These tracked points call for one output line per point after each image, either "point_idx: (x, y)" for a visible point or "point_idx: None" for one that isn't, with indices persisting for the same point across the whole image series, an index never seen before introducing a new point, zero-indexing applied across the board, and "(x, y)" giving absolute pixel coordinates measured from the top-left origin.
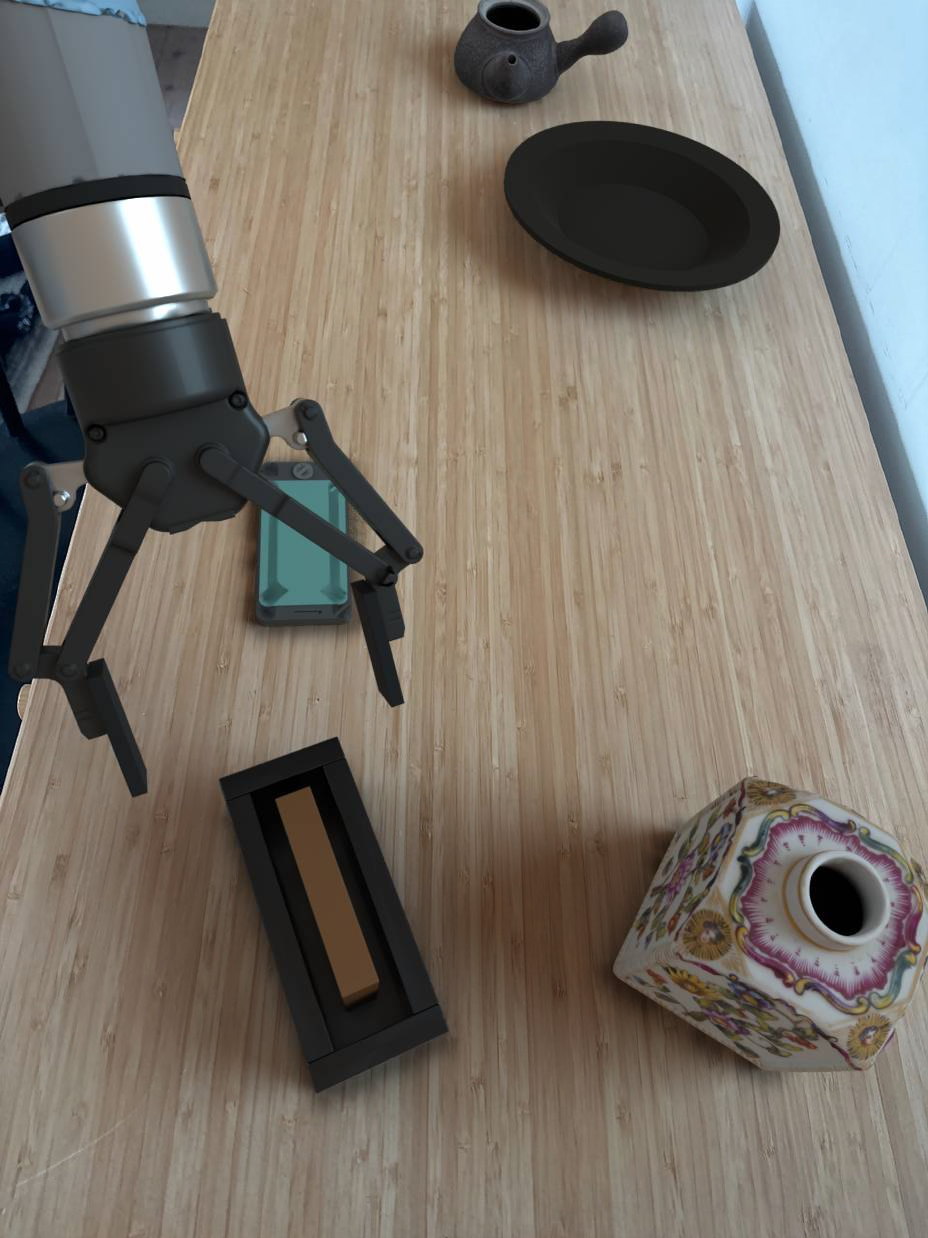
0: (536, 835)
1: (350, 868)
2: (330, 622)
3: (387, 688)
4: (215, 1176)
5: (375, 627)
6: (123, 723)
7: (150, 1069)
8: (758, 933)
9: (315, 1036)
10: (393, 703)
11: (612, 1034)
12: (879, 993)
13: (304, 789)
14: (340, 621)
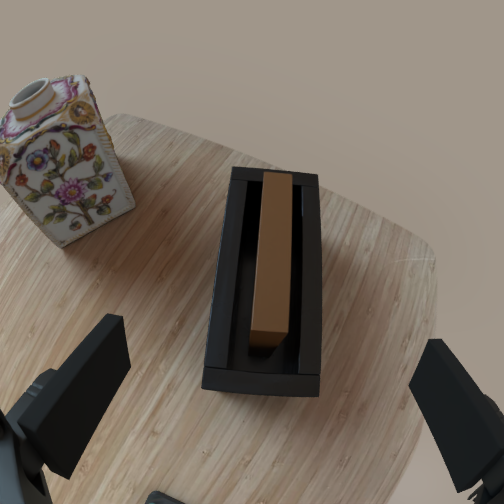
0: (119, 287)
1: (237, 324)
2: (168, 497)
3: (109, 330)
4: (359, 221)
5: (59, 388)
6: (456, 407)
7: (380, 276)
8: (65, 100)
9: (309, 195)
10: (117, 318)
11: (155, 187)
12: (58, 79)
13: (257, 328)
14: (160, 493)
